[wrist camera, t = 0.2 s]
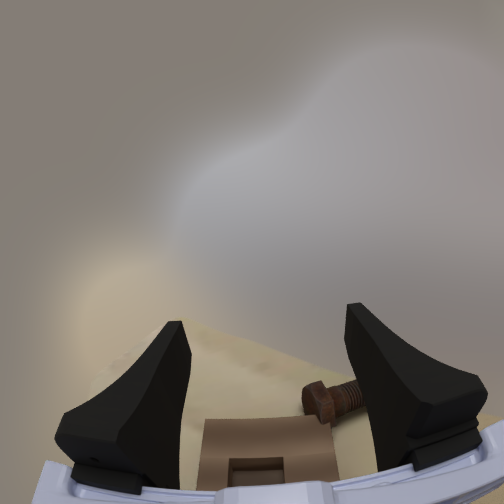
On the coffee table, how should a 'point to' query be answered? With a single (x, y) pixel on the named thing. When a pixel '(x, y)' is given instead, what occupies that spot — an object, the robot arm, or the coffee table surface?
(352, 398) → the bolt
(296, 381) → the coffee table surface
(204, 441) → the bore block
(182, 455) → the coffee table surface
